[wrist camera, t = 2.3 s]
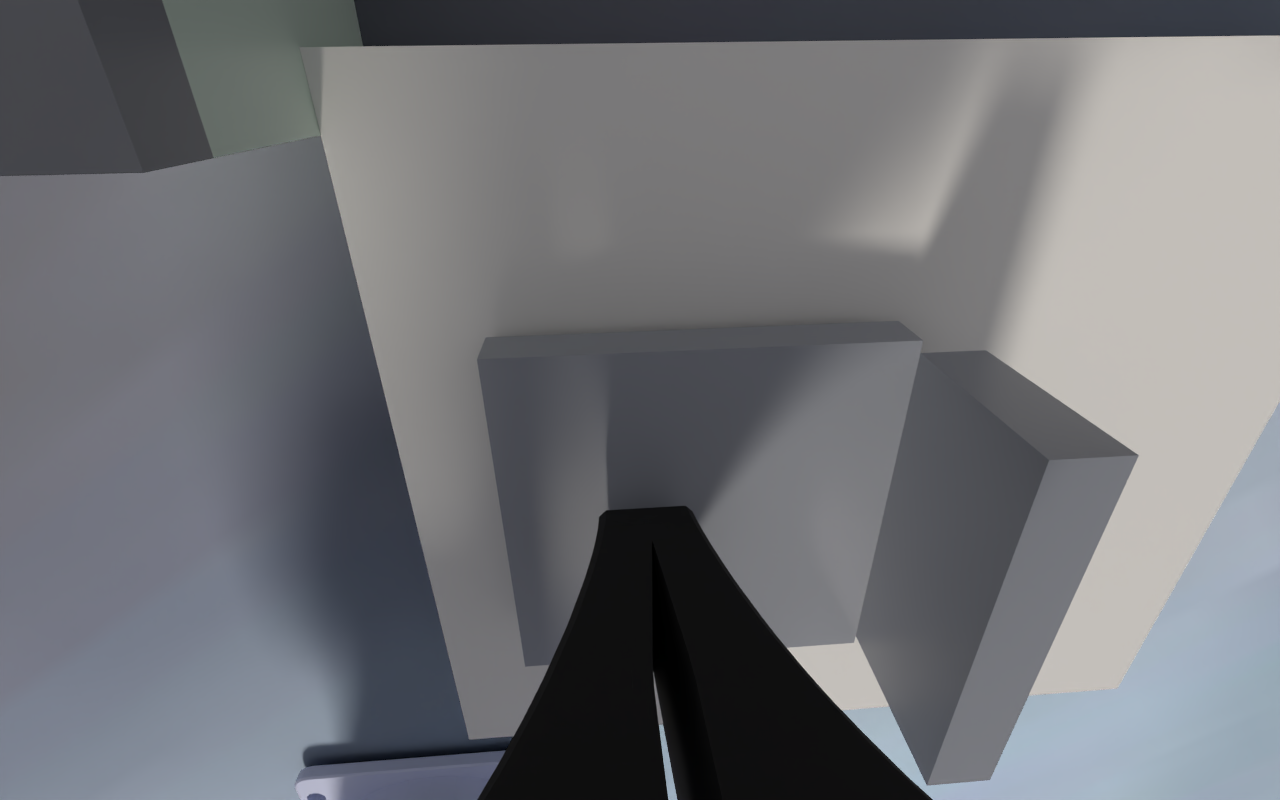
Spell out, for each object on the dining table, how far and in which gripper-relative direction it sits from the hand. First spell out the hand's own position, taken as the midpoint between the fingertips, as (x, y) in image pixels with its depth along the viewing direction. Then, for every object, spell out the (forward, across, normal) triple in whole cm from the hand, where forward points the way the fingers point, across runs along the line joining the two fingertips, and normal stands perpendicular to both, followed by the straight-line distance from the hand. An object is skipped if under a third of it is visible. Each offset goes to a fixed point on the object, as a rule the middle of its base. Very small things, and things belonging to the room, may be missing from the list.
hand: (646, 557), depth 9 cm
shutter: (+1, -1, 0) cm, 2 cm away
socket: (+4, -4, 0) cm, 6 cm away
